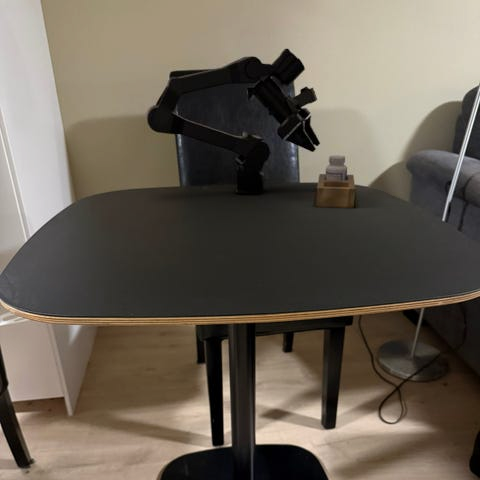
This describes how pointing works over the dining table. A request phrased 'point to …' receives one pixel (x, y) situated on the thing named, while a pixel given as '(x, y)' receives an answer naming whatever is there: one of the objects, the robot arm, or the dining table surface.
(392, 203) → the dining table surface
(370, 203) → the dining table surface
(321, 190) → the holder
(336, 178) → the pill bottle
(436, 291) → the dining table surface
